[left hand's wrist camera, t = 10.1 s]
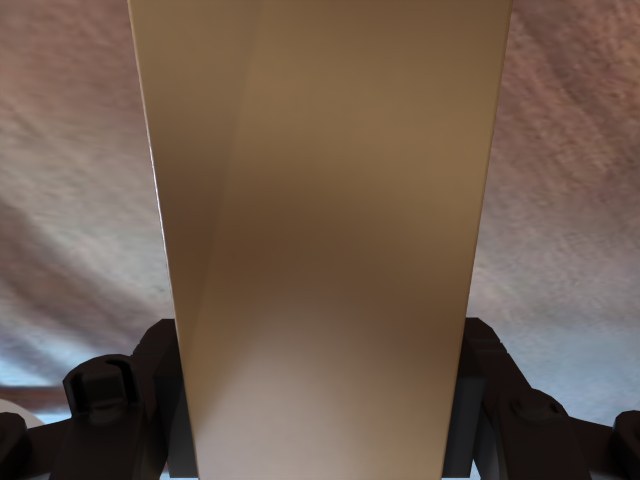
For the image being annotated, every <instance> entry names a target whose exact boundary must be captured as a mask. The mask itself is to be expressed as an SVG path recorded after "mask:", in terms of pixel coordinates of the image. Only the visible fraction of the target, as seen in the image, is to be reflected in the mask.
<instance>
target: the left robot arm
mask: <svg viewBox="0 0 640 480" xmlns="http://www.w3.org/2000/svg"><path fill="white" fill-rule="evenodd" d="M62 382H63V386H64V389H65V393H66V396H67V400H68V403H69V407H70V411H71V414H72V416H71V418H69V419H66V420H63V421H59V422H55V423H51V424H46V425H42V426H38V427H33V428H29V429H27V426H26V423H25V420H24V419H23V418H22V417H21V416H20V415H19V414H16V413H10V412H3V413H0V480H160V479H159V478H160V476H161V473H162V471H163V468H164V466H165V463H166V461H167V464H168V469H169V475H170V478H198V472H197V466H196V459H195V452H194V446H193V439H192V432H191V425H190V419H189V412H188V405H187V398H186V392H185V385H184V378H183V372H182V365H181V358H180V351H179V345H178V338H177V331H176V324H175V319H161V320H160V321H159V322H157V323H156V324H155V325H153V326H152V327H150V328H149V329H148V330H147V331H146V333H145V334H144V336H143V337H142V339H141V341H140V344H138V345H137V347H136V348H135V350H134V351H133V355H131V356H126V355H122V354H108V355H103V356H99V357H95V358H92V359H90V360H88V361H86V362H83V363H81V364H79V365H78V366H77V367H75V368H74V369H73V370H71V371H70V372H69V373H68V374H67V376H66V377H65V378H64V380H63V381H62ZM473 459H474V462H475V465H476V467H477V470H478V472H479V475H480V477H481V479H480V480H640V411H636V410H632V411H625V412H622V413H621V414H619V415H618V416H617V417H616V419H615V422H614V425H613V427H610V426H605V425H601V424H597V423H592V422H588V421H584V420H580V419H576V418H573V417H570V416H568V414H567V412H566V411H565V409H564V408H563V406H562V405H561V404H560V403H559V402H557V401H556V400H555V399H554V398H553V397H551V396H549V395H547V394H546V393H544V392H542V391H540V390H537V389H533V388H531V386H530V385H529V383H528V382H527V380H526V379H525V377H524V376H523V374H522V373H521V371H520V370H519V368H518V367H517V365H516V363H515V362H514V360H513V359H512V357H511V356H510V354H509V353H507V350H506V348H505V347H504V345H503V344H502V343H500V339H499V338H498V336H497V335H496V333H495V332H494V330H493V329H492V328H491V327H490V326H488V325H487V324H486V323H484V322H483V321H482V320H480V319H479V318H465V325H464V331H463V338H462V345H461V351H460V358H459V365H458V371H457V378H456V385H455V392H454V398H453V405H452V412H451V418H450V425H449V432H448V438H447V445H446V452H445V458H444V465H443V472H442V478H470V473H471V467H472V462H473Z"/></svg>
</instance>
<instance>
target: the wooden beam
mask: <svg viewBox="0 0 640 480" xmlns="http://www.w3.org/2000/svg"><path fill="white" fill-rule="evenodd" d="M127 2H128V8H129V15H130V22H131V29H132V35H133V42H134V49H135V55H136V62H137V69H138V76H139V82H140V89H141V96H142V103H143V109H144V116H145V123H146V129H147V136H148V143H149V150H150V156H151V163H152V170H153V177H154V183H155V190H156V197H157V203H158V210H159V217H160V224H161V230H162V237H163V244H164V251H165V257H166V264H167V271H168V277H169V284H170V291H171V298H172V304H173V311H174V318H175V324H176V331H177V338H178V345H179V351H180V358H181V365H182V372H183V378H184V385H185V392H186V398H187V405H188V412H189V419H190V425H191V432H192V439H193V446H194V452H195V459H196V466H197V472H198V479H199V480H441V478H442V472H443V465H444V458H445V452H446V445H447V438H448V432H449V425H450V418H451V412H452V405H453V398H454V392H455V385H456V378H457V371H458V365H459V358H460V351H461V345H462V338H463V331H464V325H465V318H466V311H467V305H468V298H469V291H470V285H471V278H472V271H473V265H474V258H475V251H476V245H477V238H478V231H479V225H480V218H481V211H482V205H483V198H484V191H485V185H486V178H487V171H488V165H489V158H490V151H491V145H492V138H493V131H494V125H495V118H496V111H497V105H498V98H499V91H500V85H501V78H502V71H503V65H504V58H505V51H506V44H507V38H508V31H509V24H510V18H511V11H512V4H513V0H127Z"/></svg>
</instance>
